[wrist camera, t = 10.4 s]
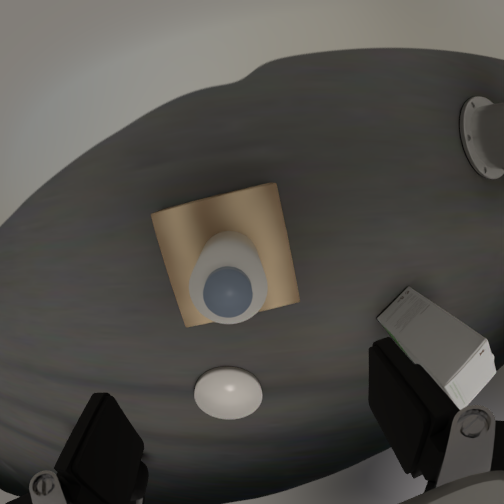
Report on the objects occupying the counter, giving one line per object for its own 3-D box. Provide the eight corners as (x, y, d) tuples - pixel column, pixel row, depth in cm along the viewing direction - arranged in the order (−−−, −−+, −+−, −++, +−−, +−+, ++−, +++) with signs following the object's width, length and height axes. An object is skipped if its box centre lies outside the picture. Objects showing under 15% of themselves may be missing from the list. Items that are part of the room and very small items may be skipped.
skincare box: (374, 316, 35) (440, 387, 20) (410, 281, 34) (488, 335, 19) (401, 349, 37) (459, 415, 22) (432, 318, 36) (499, 372, 21)
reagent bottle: (252, 225, 27) (260, 246, 18) (263, 279, 28) (276, 323, 19) (195, 237, 27) (176, 264, 18) (208, 291, 28) (198, 338, 19)
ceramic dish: (253, 360, 35) (254, 365, 34) (267, 407, 37) (268, 412, 36) (185, 372, 35) (184, 378, 34) (206, 417, 37) (206, 423, 36)
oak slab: (270, 182, 30) (276, 182, 26) (292, 287, 33) (300, 301, 29) (160, 209, 30) (150, 214, 26) (190, 311, 33) (186, 327, 29)
